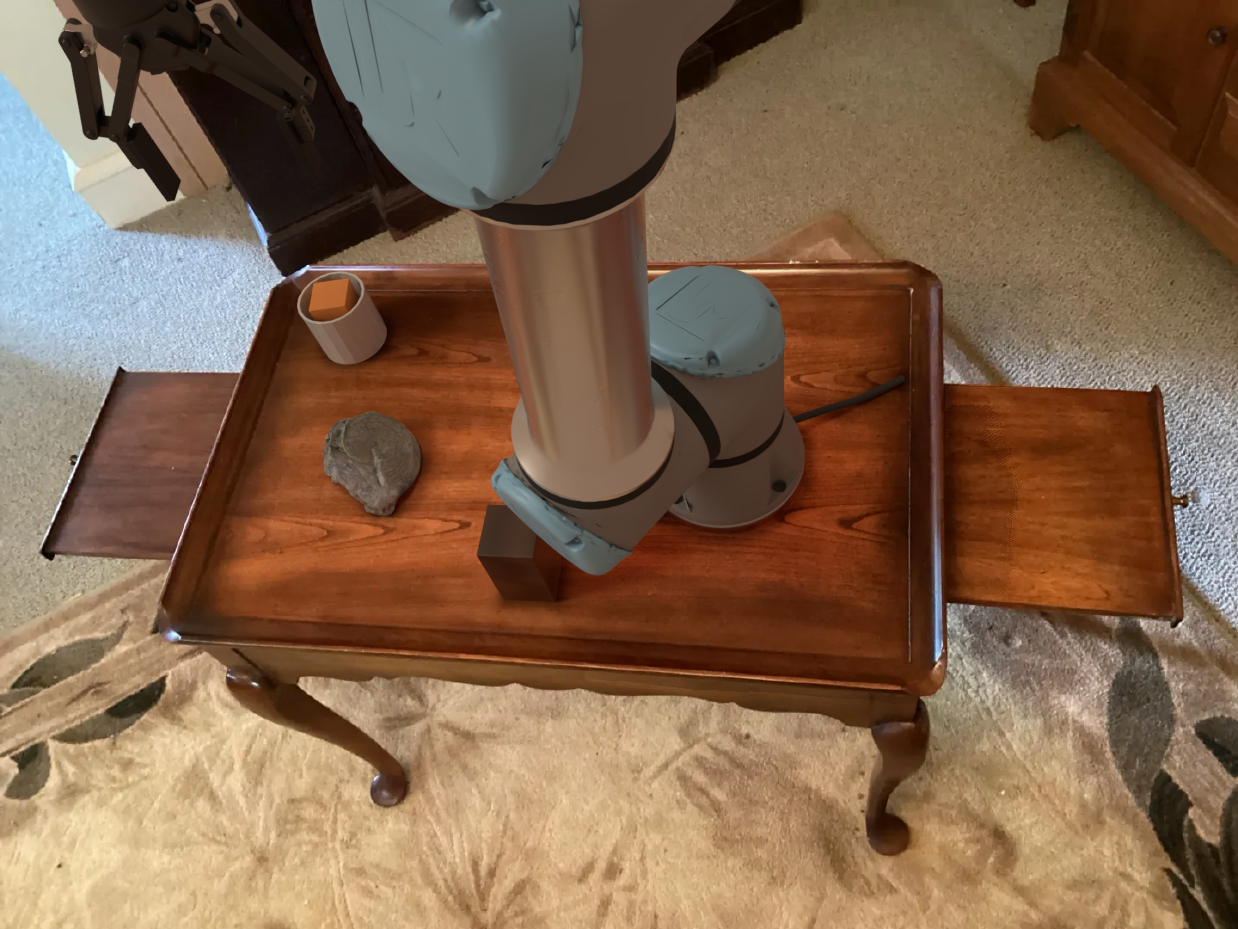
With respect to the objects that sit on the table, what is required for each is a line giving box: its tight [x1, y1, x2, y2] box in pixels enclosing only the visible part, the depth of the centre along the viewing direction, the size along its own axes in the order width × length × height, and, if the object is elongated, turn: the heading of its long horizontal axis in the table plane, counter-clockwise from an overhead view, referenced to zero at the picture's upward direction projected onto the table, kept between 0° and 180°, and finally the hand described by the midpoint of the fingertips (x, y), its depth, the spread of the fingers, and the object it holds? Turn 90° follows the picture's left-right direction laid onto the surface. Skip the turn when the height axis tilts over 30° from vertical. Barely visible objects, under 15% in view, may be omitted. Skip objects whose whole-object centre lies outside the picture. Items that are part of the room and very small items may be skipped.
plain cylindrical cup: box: [296, 270, 388, 365], centre depth 106 cm, size 7×7×7 cm
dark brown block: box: [476, 503, 564, 603], centre depth 86 cm, size 5×5×9 cm
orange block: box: [309, 278, 360, 322], centre depth 105 cm, size 4×4×7 cm
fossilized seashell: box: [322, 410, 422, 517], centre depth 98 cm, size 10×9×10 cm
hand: (244, 180), depth 87 cm, fingers open, 13 cm apart
